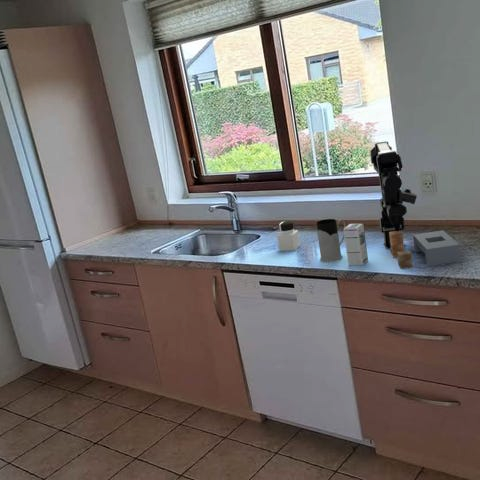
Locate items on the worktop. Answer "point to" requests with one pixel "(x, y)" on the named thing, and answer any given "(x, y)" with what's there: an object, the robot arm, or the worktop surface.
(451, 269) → the worktop surface
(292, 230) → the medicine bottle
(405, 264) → the short pin
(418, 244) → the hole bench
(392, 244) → the long pin
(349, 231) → the syrup box
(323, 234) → the grey pitcher
